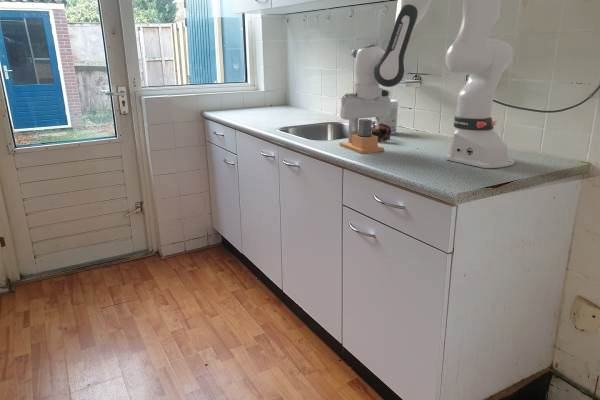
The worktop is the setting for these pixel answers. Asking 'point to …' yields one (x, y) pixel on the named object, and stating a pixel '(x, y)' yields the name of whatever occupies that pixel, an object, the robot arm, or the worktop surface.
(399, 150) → the worktop surface
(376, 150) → the wooden stepped base
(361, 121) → the grey upright block
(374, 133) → the pottery mug
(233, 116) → the worktop surface
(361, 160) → the worktop surface
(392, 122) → the supplement tub
